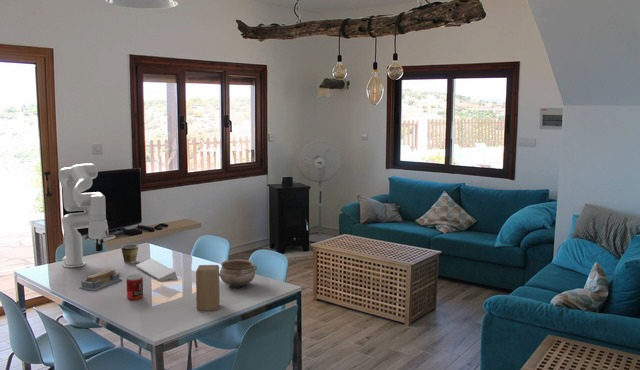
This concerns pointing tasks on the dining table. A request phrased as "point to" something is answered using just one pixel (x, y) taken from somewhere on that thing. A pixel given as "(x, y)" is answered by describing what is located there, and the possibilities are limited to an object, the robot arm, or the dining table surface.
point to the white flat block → (157, 270)
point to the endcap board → (97, 284)
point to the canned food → (134, 287)
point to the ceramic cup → (129, 253)
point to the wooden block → (207, 287)
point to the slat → (101, 276)
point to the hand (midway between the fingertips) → (99, 250)
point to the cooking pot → (237, 272)
